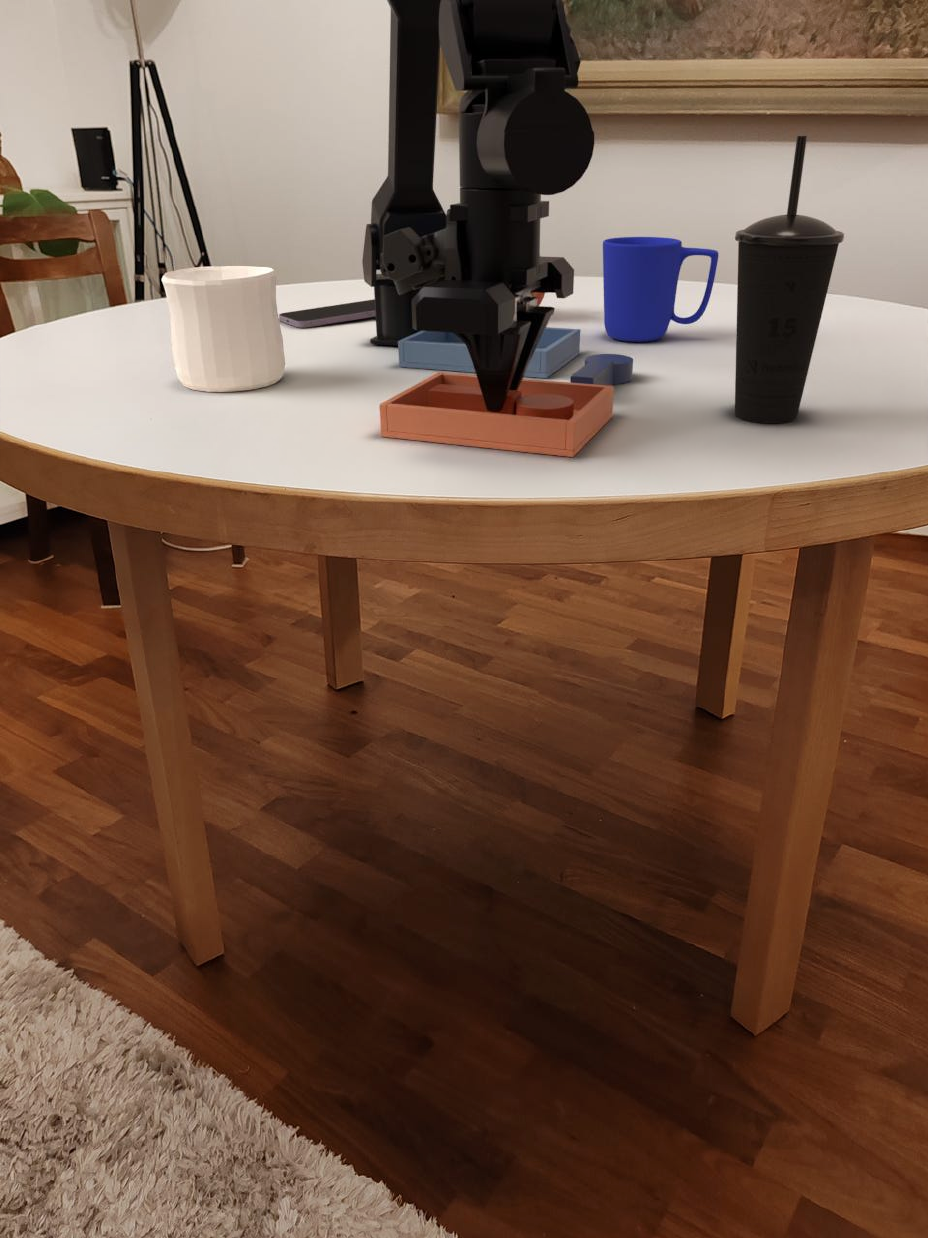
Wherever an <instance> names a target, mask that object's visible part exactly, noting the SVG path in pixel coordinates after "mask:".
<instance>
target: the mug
mask: <svg viewBox="0 0 928 1238" xmlns="http://www.w3.org/2000/svg"><path fill="white" fill-rule="evenodd" d="M682 244H683V243H682V240H680V239H677V238H671V237H660V236H621V237H610V238H606V239H604V240H603V241H602V267H603V268H602V275H603V277H602V278H603V322H604V324H603V325H604V330H605V333H606V334H607V335H608V336H609V338H610V339H613V340H617V341H623V342H633V343H642V342H643V343H644V342H651V341H657V340H660V339H662V338H663V337H664V336H665V335H666V333H667V331H668V329H669V325H670V323H671V321H672V322H674V323H676V324H680V325H691V324H694V323H695V322H698V320H700V319H701V317H703V315H704V313H705V311H706V309H707V307H708V304H709V301H710V298H711V295H712V291H713V288H714V287H713V286H714V283H715V279H716V274H717V267H718V263H719V262H718V261H719V251H718V250H715V249H711V248H700V247H685V246H683V245H682ZM693 256H704V257H705V256H706V257H709V258H710V265H709V271H708V278H707V282H706V287H705V291H704V294H703V297H702V299H701V300H702V301H701V303H700V305H699V307H698V309H697V310H696V312H695V313H693V314H692V315H690V316H687V317H680V316H678V315H676V313H675V304H676V297H677V296H676V295H677V290H678V282H679V277H680V272H681V268H682V265H683V263H684V261H685V260H686V259H687V258H688V257H693Z"/></svg>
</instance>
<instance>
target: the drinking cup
mask: <svg viewBox="0 0 928 1238" xmlns="http://www.w3.org/2000/svg"><path fill="white" fill-rule="evenodd" d="M807 139H808V135H797V136H796V141H795V149H794V156H793V164H792V173H791V180H790V186H789V187H790V188H789V194H788V203H787V209H786V210H787V211H786V214H780V215H774V216H770V217H767V218H763V219H760V220H757V221H756V222H754V223H752V224H750V225H748V226H747V227H746V228H744V229H740V230H737V231H736V232H735V236H734V240H735V241H737V242H738V243H737V244H738V245H737V246H738V247H737V248H738V250H737V288H736V289H737V294H736V295H737V296H736V331H735V332H736V336H735V339H736V340H735V378H734V379H735V383H734V415H735V416H736V417H737V418H739V419H741V420H744V421H748V422H752V423H759V424H783V423H789V422H793V421H795V420H796V419H797V418H798V415H799V410H800V407H801V402H802V398H803V394H804V389H805V387H806V381H807V377H808V373H809V370H810V366H811V362H812V356H813V352H814V349H815V344H816V340H817V336H818V333H819V329H820V324H821V319H822V315H823V311H824V306H825V303H826V298H827V295H828V290H829V286H830V282H831V278H832V274H833V270H834V265H835V262H836V257H837V253H838V249H839V244H841V243H843V241H844V239H845V234H844V232H842V231H840V230H837V229H836V228H834V227H832V226H831V225H829V224H828V223H827V222H824V220H821V219H818V218H814V217H812V216H808V215H802V214H798V206H799V198H800V191H801V184H802V177H803V170H804V163H805V155H806V149H807Z"/></svg>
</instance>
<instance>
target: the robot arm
mask: <svg viewBox="0 0 928 1238" xmlns="http://www.w3.org/2000/svg"><path fill="white" fill-rule="evenodd" d="M386 1H387V3H388V5H389V7H390V8H389V9H390V31H389V32H390V33H389V44H390V45H389V82H388V83H389V89H388V90H389V91H388V92H389V94H388V96H389V97H388V146H387V148H388V151H387V153H388V154H387V155H388V156H387V160H388V161H387V176H386V178H385V180H384V181H383V183H382V184H381V186H380V188H379V189H378V190H377V191H376V193H375V195H374V196H373V198H372V201H371V209H370V210H371V212H370V213H371V214H370V217H371V218H370V223H367V224H366V225H365V233H364V241H363V242H364V243H363V250H362V251H363V252H362V263H361V264H362V272H363V281H364V283H366V284H367V285H368V286H369V287H371V288H373V295H374V299H375V314H376V316H375V330H376V336H374V337H372V338H370V339H369V344H371V345H382V346H397V347H398V341H399V340H402V339H404V338H406V337H408V336H411V335H413V334H415V333H418V332H420V331H435V332H450V333H454V334H455V335H456V336H457V337H458V338H459V339H460V340H462V341H463V342H464V343H465V345H466V346H467V349H468V351H469V354H470V357H471V360H472V362H473V366H474V369H475V372H476V373H475V375H477V379H478V382H479V385H480V389H481V392H482V395H483V399H484V402H485V405H486V409H487V410H488V411H490V412H500V411H501V410H502V408H503V405H504V403H505V400H506V397H507V394H508V391H509V390H516V391H517V390H518V388H519V386H520V383H521V381H522V379H524V377H523V376H524V374H525V372H526V370H527V367H528V365H529V363H530V360H531V358H532V356H533V354H534V352H535V349H536V347H537V345H538V343H539V341H540V339H541V336H542V334H543V332H544V330H545V328H546V327H547V326H548V324H549V321H550V319H551V317H552V316H553V315H554V313H555V310H556V309H555V307H553V306H543V305H541V306H540V305H539V306H537V297H532V292H538V293H545V294H550V293H551V294H555V297H556V299H566V298H568V297H570V296H572V295H573V294H574V286H575V285H574V284H575V269H574V268H573V267H572V265H571V264H570V263H569V261H567V259H566V258H565V257H564V256H541V253H540V252H541V219H544V218H547V217H549V216H550V200H542V196H553V195H558V194H560V193H563V192H566V191H567V190H568V189H570V188H572V187H573V186H574V185H576V183H578V181H580V180H581V179H582V178H583V176H584V175H585V173H586V171H587V170H588V168H589V166H590V163H591V160H592V158H593V155H594V148H595V131H594V129H593V126H592V121H591V118H590V116H589V114H588V112H587V110H586V107H584V105H583V104H582V103H581V102H580V100H579V99H578V98H577V97H575V96H574V95H572V94H571V93H569V92H568V91H569V90H577V89H578V87H579V74H578V73H579V68H580V66H581V62H582V61H581V57H580V55H579V52H578V48H577V46H576V43H575V39H574V36H573V34H572V31H571V27H570V24H569V21H568V18H567V15H566V11H565V7H564V2H563V0H386ZM441 53H442V56H443V59H444V61H445V65H446V67H447V69H448V73H449V76H450V79H451V81H452V84H453V87H454V90H455V91H456V92H460V91H461V92H464V91H465V93H464V94H463V95H462V96H461V97H460V100H459V101H460V102H459V106H458V111H459V113H458V145H459V146H458V151H459V152H458V153H459V154H458V155H459V158H458V161H459V202H458V203H454V204H449V208H448V209H447V210H446V212H445V210H444V208H443V206H442V204H441V202H440V200H439V198H438V196H437V195H436V193H435V191H434V176H435V175H434V174H435V172H434V171H435V170H434V169H435V156H436V155H435V154H436V137H437V136H436V133H437V116H438V94H439V77H440V76H439V75H440V74H439V73H440V57H441ZM377 271H380V273H377Z"/></svg>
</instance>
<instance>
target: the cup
mask: <svg viewBox="0 0 928 1238" xmlns="http://www.w3.org/2000/svg"><path fill="white" fill-rule="evenodd" d="M277 276H278V273H277V272H276V271H275V269H273V268H272V267H267V266H248V265H224V266H212V265H211V266H196V267H195V266H194V267H186V268H181V269H175V270H171V271H166V272H165V273H164V274H163V275H162V277H161V279H160V280H161V282H162V285H163V289H164V292H165V297H166V301H167V305H168V312H169V319H170V338H171V339H170V340H171V348H172V355H173V361H174V369H175V372H176V375H177V378H178V381H180V383H181V384H182V385H183V386H184V387H186V388H187V389H189V390H194V391H197V392H208V393H230V392H231V393H233V392H234V393H235V392H242V391H243V392H244V391H251V390H256V389H260V388H266V387H269V386H272V385H274V384H277V383H278V382H279V381H281V379H282V377H284V374H285V368H286V358H285V357H286V355H285V346H284V338H283V334H282V328H281V323H280V322H281V321H280V320H279V312H278V303H277Z"/></svg>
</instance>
